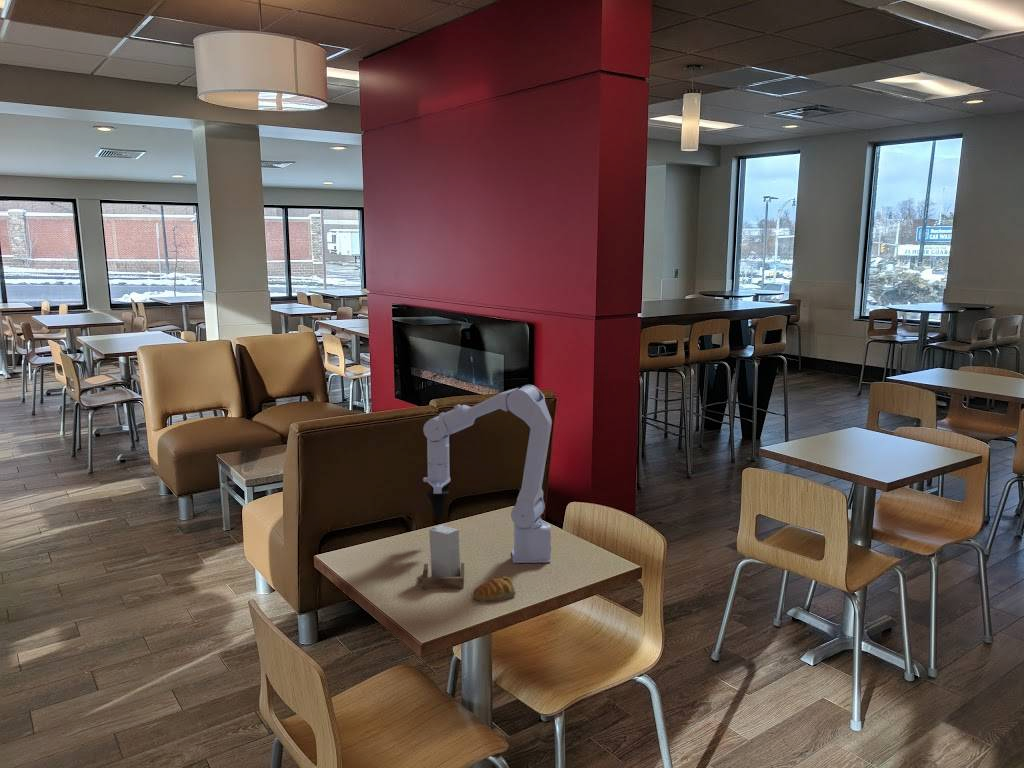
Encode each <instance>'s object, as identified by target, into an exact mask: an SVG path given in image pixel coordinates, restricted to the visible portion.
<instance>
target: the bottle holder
mask: <svg viewBox="0 0 1024 768" xmlns="http://www.w3.org/2000/svg"><path fill="white" fill-rule="evenodd" d="M428 565H429V564H428V563H424V565H423V571H422V577H421V589H422V590H439V588H441V589H442V590H443V589H444V588H452V589H465V586H464V585H465V563H463V562H460V577H432V576H429V577H428V575H429V566H428ZM441 589H440V590H441Z"/></svg>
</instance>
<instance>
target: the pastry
mask: <svg viewBox="0 0 1024 768" xmlns="http://www.w3.org/2000/svg"><path fill="white" fill-rule="evenodd" d="M515 595H516V587H515V586H514V583H513V580H512V579H511V578H510V577H509V576H502V577H500V578H494V579H493V578H491V579H489V580H488V581H486V582H484V583H483V584H480V585H479V586H477V587H476V588H475V589H474V590H473V595H472V597H473V598H474V599H475V600H477V601H480V602H483V601H485V602H498V601H502V600H501V599H503V600H507V599H506V598H508V599H511V598H514V597H515ZM513 596H514V597H513ZM510 597H511V598H510ZM497 600H498V601H497Z"/></svg>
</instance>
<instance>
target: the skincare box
mask: <svg viewBox="0 0 1024 768" xmlns="http://www.w3.org/2000/svg"><path fill="white" fill-rule="evenodd" d="M428 534H429V548H430V549H429V550H430V553H429V554H430V568H431V572H430V573H431V577H460V570H461V557H460V556H461V555H460V533H459V529H457V528H453V527H449V526H445V525H443V524H440V525H437V526H434V527H432V528H430V529H429V533H428Z"/></svg>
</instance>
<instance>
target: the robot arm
mask: <svg viewBox="0 0 1024 768" xmlns="http://www.w3.org/2000/svg"><path fill="white" fill-rule="evenodd" d="M545 398H546V396H545V395H544V393H542V391H541V390H540V389H539V388H538V387H537V386H535V385H533V384H525V385H522V386H521V387H516V388H512V389H508V390H506V391H502V392H500V393H498V394H496V395H494V396H491V397H489V398H488V399H485V400H483V401H482V402H479V403H477V404H474V405H473V406H470V405H466V404H462V405H461V404H457V405H455V406H453V409H451V410H448V411H446V412H444V411H442V412H440V413H439V414H438V415H437V416H435V417H433V418H429V419H428V420H427V421H426V422H425V423H424V425H423V427H422V429H423V430H422V431H423V435H424V436H425V438H426V442H427V445H426V451H427V453H426V455H427V456H426V458H427V477H423V478H422V481H423V482H424V483H428V484H429V486H430V488H431V489H427V491H426V495H427V497H428V499H429V501H430V504H431V508H432V514H433V516H434V518H443V516H444V511H445V505H446V500H447V498H448V496H449V494H450V491H448V489H449V486H450V484H451V476H450V475H451V474H450V436H451V435H453V434H455V433H458V432H460V431H463V430H465V429H468V428H469V427H471V426H473V425H474V424H475V420H476V419H477V418H480V417H482V416H484V415H486V414H487V415H488V414H490V413H492V412H494V411H496V410H502V411H504V412H508V411H510V413H512V414H513V415H515V416H516V417H518V418H519V419H521V420H522V421H524V422H525V424H527V426H528V427H529V428H530V429H529V436H528V443H527V449H526V454H525V455H526V456H525V462H524V468H523V477H522V480H521V481H522V482H521V488H520V490H519V493H518V496H517V498H516V503H515V505H514V507H513V508H512V510H511V512H510V516H511V521H512V523H513V549H511V555H512V563H514V564H528V563H531V564H532V563H535V564H536V563H551V561H552V560H551V557H552V556H551V553H552V546H551V545H552V544H551V541H552V533H551V524H550V523H545V522H543V519H542V517H541V516H542V514H544V512H545V508H546V506H545V501H544V490H543V481H544V475H545V469H546V462H547V456H548V449H549V445H550V444H549V443H550V437H551V432H552V426H553V425H552V424H553V421H552V417H551V415H550V412H549V409H548V406H547V404H546V403H547V402H546V399H545Z"/></svg>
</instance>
